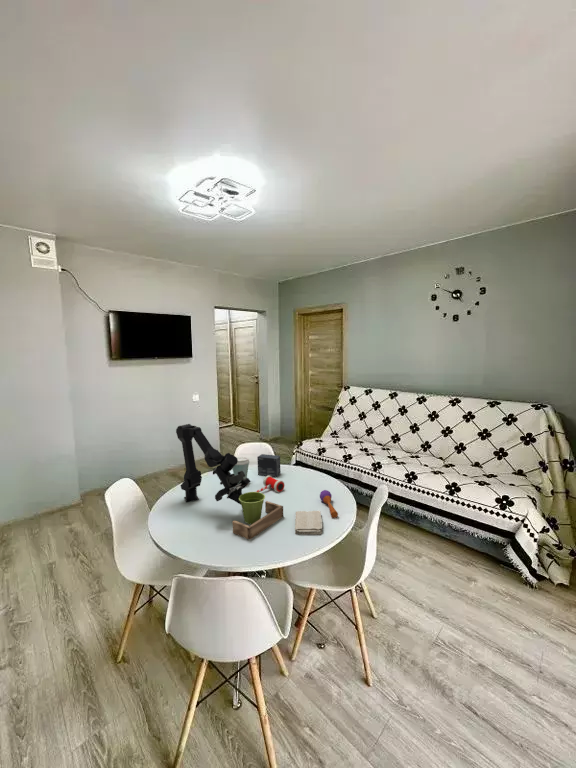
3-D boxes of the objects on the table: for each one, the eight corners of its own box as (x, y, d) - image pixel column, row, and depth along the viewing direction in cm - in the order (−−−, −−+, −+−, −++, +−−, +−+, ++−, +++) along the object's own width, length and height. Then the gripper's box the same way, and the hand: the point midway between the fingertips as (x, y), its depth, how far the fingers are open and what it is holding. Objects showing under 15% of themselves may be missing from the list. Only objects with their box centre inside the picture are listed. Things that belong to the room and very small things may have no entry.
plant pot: (269, 524, 143) (268, 499, 142) (242, 530, 139) (241, 504, 138) (261, 512, 154) (261, 489, 153) (237, 517, 150) (236, 494, 149)
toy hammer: (250, 503, 164) (250, 491, 164) (238, 496, 173) (238, 484, 173) (285, 490, 179) (284, 479, 179) (271, 484, 188) (271, 474, 188)
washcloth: (294, 536, 134) (294, 529, 134) (294, 515, 152) (294, 508, 152) (323, 536, 134) (323, 529, 134) (320, 514, 152) (320, 508, 151)
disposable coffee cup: (229, 481, 193) (228, 457, 192) (247, 478, 197) (246, 454, 196) (234, 488, 183) (233, 462, 182) (252, 484, 188) (251, 459, 186)
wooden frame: (232, 532, 137) (232, 521, 136) (267, 511, 155) (266, 501, 155) (249, 540, 131) (249, 528, 131) (283, 516, 150) (283, 506, 149)
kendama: (327, 510, 147) (317, 489, 166) (329, 522, 148) (319, 499, 167) (339, 507, 147) (328, 486, 167) (341, 519, 148) (330, 497, 168)
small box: (281, 474, 204) (280, 455, 203) (276, 477, 198) (276, 458, 196) (262, 471, 209) (261, 453, 208) (257, 475, 202) (256, 456, 201)
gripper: (218, 473, 142) (237, 503, 137) (247, 461, 157) (265, 488, 152) (207, 486, 147) (224, 516, 142) (236, 473, 163) (253, 500, 157)
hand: (243, 504), depth 148 cm, fingers closed
